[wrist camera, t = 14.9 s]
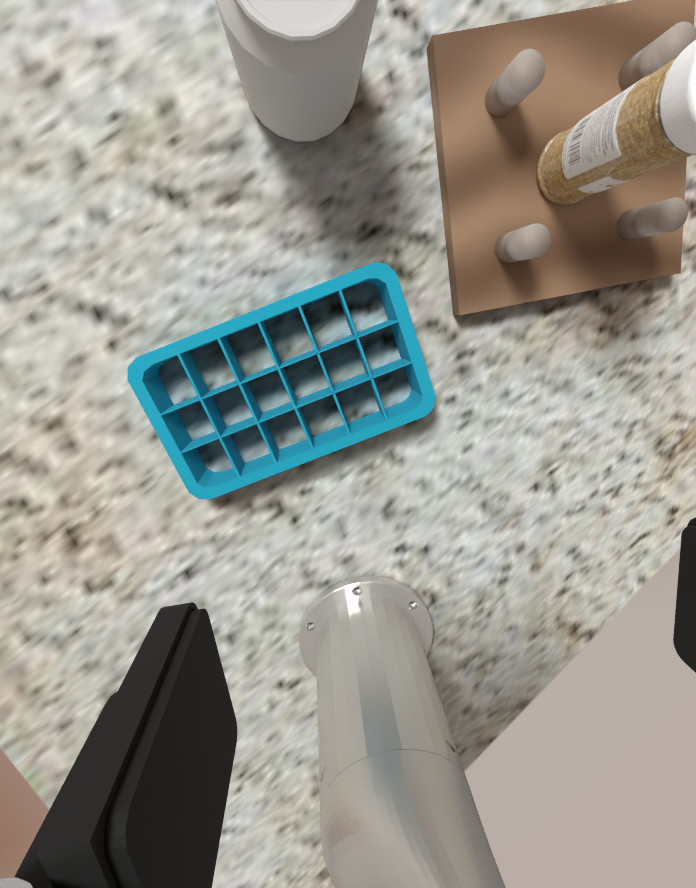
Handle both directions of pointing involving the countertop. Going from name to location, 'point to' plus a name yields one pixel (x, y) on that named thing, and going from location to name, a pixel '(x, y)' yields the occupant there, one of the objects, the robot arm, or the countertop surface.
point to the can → (299, 60)
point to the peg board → (522, 141)
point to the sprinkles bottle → (625, 135)
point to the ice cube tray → (243, 474)
